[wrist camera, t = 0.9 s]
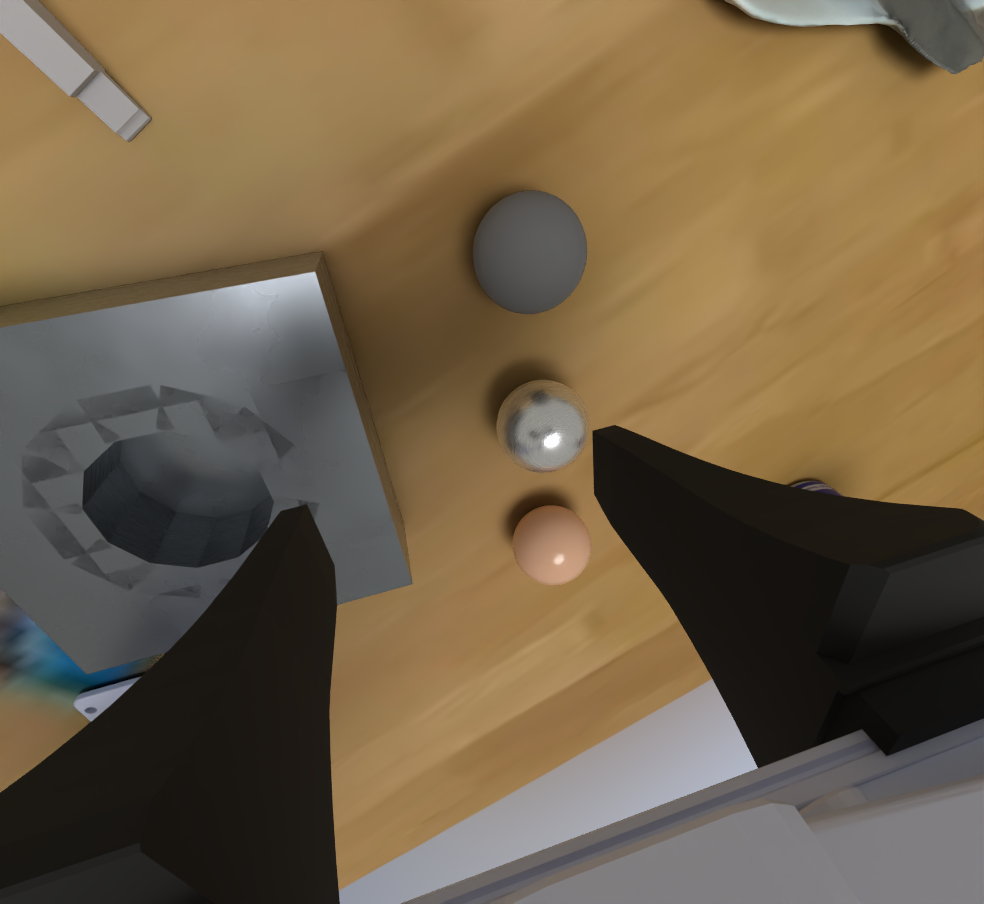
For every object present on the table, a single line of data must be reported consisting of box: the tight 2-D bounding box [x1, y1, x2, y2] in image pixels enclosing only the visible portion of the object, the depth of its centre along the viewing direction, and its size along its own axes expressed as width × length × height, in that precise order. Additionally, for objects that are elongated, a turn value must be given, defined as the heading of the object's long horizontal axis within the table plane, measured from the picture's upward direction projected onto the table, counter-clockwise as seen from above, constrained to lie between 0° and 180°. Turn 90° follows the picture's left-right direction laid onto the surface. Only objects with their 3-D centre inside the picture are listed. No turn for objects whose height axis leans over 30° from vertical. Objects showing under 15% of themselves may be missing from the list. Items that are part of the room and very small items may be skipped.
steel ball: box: [496, 380, 590, 473], centre depth 20 cm, size 4×4×4 cm
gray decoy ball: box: [473, 190, 587, 314], centre depth 17 cm, size 4×4×4 cm
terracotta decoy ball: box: [513, 505, 592, 585], centre depth 24 cm, size 4×4×4 cm
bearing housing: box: [0, 251, 412, 674], centre depth 18 cm, size 13×13×4 cm
